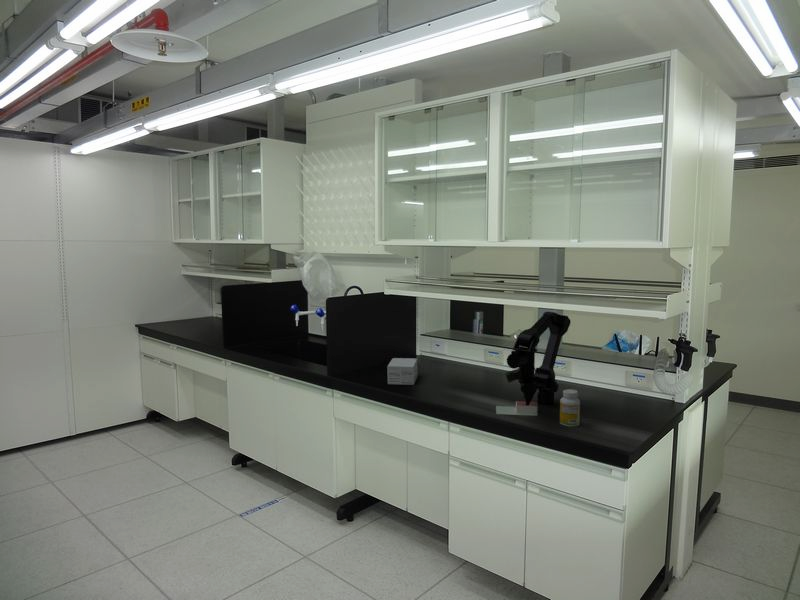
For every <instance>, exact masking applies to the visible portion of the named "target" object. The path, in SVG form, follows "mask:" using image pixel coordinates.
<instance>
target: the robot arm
mask: <svg viewBox="0 0 800 600" xmlns="http://www.w3.org/2000/svg"><path fill="white" fill-rule="evenodd" d="M571 323H572V322H571V319H570V317H569V315H565V314H564V315H563V314H559V313H557V312H554V311H544V312H543V314H542V316H541V317H539V319H538V320H537V321H535V323H534V324H533V325H532V326H531V327H530V328H527V329H523V330H522V331H520V333H519V334H518V336H517V338H516V340H515V342H514V345H513V347H512V350H511V353H510V354H508V355H507V358H506V364H507V366H508V367H509V368H511V369H513V370H509V371H506V372H505V373H504V374H505V377H506V381H507V383H512V382H514V381H517V380H518V383H519V388H520V392H522V393H523V398H524V399H525V400H524V402H526V405H527V406H529V404H530V402H532V400H533V398H534V396H535V394H536V404H537V405H538V406H555V393H557V392H558V391H559V384H558V382H557V380H556V373H555V370H554V367H555V364H556V361H557V356H558V352H559V349H560V345H561V342H562V337H563V336H564V335H565V334H566V333H567V332H568V331H569V328H570V326H571ZM547 329H549V336H548V340H547V344H546V348H545V352H544V355H543V359H542V364H541V365H540V366H539V367H535V364H536V363H535V361H536V360H535V357H536V356H535V355H536V353H537V352H538V349H537V346H538V344H539V343H540V337H541V336H542V335H543V334H544V333H545V332H546V331H547Z"/></svg>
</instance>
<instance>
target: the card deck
mask: <svg viewBox="0 0 800 600" xmlns="http://www.w3.org/2000/svg"><path fill="white" fill-rule="evenodd" d="M515 407H516V412H517V413H532V414H537V415H538V403H537V401H531V402H530V404H529V406H527V405H526V401H518V400H516V401H515Z"/></svg>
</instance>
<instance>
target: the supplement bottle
mask: <svg viewBox="0 0 800 600" xmlns="http://www.w3.org/2000/svg"><path fill="white" fill-rule="evenodd" d="M578 397H579V393H578V390H576V389H568V388H567V389H564V390H562V397H561V398H560V400H559V424H560V425H563V426H566V427H577V426H579V425H580V418H581V417H580V416H581V415H580V414H581V400H580V399H579V398H578Z"/></svg>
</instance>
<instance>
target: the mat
mask: <svg viewBox="0 0 800 600" xmlns="http://www.w3.org/2000/svg"><path fill="white" fill-rule="evenodd" d="M495 413H496V415H511V416H512V415H513V416H533V417H535V416H537V417H538V413H537V414H532V413H517V412H516V406H504V405H503V406H501V405H496V406H495Z"/></svg>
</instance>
